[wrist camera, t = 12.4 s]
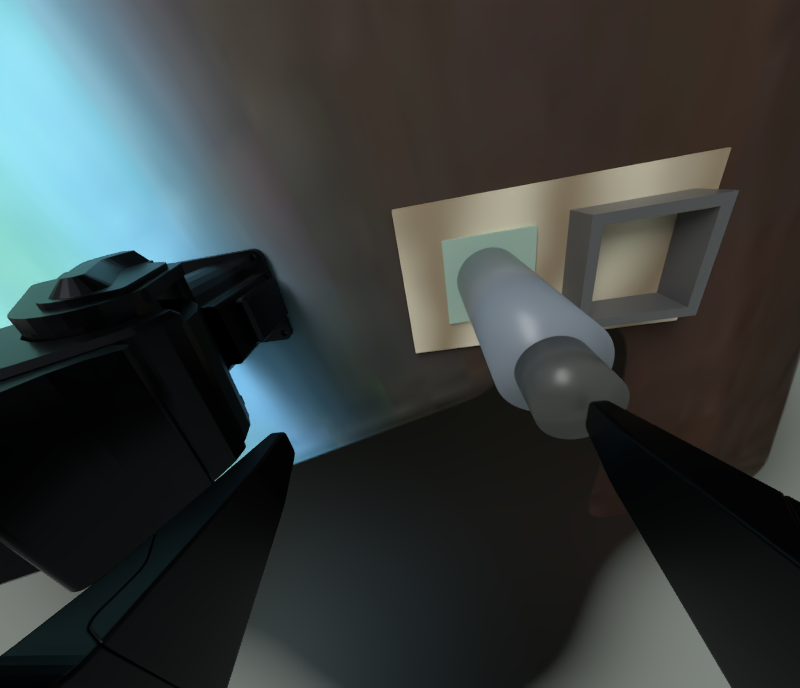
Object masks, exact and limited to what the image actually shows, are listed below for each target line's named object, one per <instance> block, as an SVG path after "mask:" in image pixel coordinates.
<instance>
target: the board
mask: <svg viewBox="0 0 800 688" xmlns="http://www.w3.org/2000/svg"><path fill="white" fill-rule="evenodd" d="M730 150H731V147H730V148H722V149H716V150H711V151H706V152H700V153H695V154H689V155H684V156H679V157H673V158H668V159H662V160H657V161H652V162H646V163H641V164H636V165H630V166H625V167H619V168H614V169H609V170H603V171H598V172H592V173H587V174H582V175H576V176H571V177H566V178H560V179H555V180H549V181H544V182H539V183H533V184H528V185H522V186H517V187H512V188H506V189H501V190H495V191H490V192H485V193H479V194H474V195H469V196H463V197H458V198H452V199H447V200H442V201H436V202H431V203H425V204H420V205H415V206H409V207H404V208H398V209H393V210H392V216H393V222H394V227H395V233H396V239H397V245H398V251H399V257H400V263H401V269H402V274H403V280H404V286H405V292H406V298H407V304H408V310H409V316H410V321H411V327H412V333H413V339H414V345H415V351H416V353H422V352H430V351H438V350H446V349H454V348H461V347H469V346H477V345H480V344H479V342H478V339H477V336H476V334H475V331H474V329H473V326H472V324H471V321H469V322H461V323H454V324H450V323H449V314H448V304H447V294H446V284H445V274H444V264H443V254H442V244H441V241H444V240H449V239H455V238H461V237H467V236H473V235H479V234H485V233H491V232H497V231H502V230H508V229H514V228H520V227H526V226H532V225H537V243H536V262H535V273H536V274H537V275H539V276H540V277H541V278H542V279H544V280H545V281H546V282H547V283H548V284H550V285H551V286H552V287H553V288H555V289H556V290H557V291H558V292H560V293H561V294H562V286H563V276H564V266H565V256H566V246H567V236H568V226H569V216H570V210H573V209H579V208H584V207H590V206H596V205H602V204H607V203H613V202H619V201H625V200H631V199H636V198H642V197H648V196H654V195H659V194H665V193H671V192H677V191H683V190H688V189H694V188H702V189H718V188H719V185H720V182H721V179H722V175H723V172H724V169H725V166H726V163H727V160H728V156H729V153H730ZM677 214H678V213H676V214H670V215H664V216H658V217H652V218H646V219H640V220H634V221H628V222H622V223H615V224H609V225H604V227H603V233H602V240H601V246H600V253H599V259H598V266H597V272H596V279H595V285H594V291H593V298H592V301H597V300H605V299H612V298H619V297H626V296H634V295H641V294H648V293H655V292H657V290H658V286H659V282H660V278H661V274H662V271H663V267H664V263H665V259H666V256H667V252H668V248H669V244H670V240H671V237H672V233H673V229H674V225H675V222H676V218H677ZM677 318H678V317H677ZM677 318H669V319H661V320H653V321H645V322H638V323H630V324H622V325H614V326H606V327H603V328H604V329H611V328H619V327H627V326H634V325H642V324H650V323H658V322H666V321H674V320H677Z"/></svg>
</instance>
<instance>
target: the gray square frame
mask: <svg viewBox="0 0 800 688" xmlns="http://www.w3.org/2000/svg"><path fill="white" fill-rule="evenodd" d="M738 192H739V190H724V189H702V188H694V189H688V190H683V191H677V192H671V193H665V194H659V195H654V196H648V197H642V198H636V199H631V200H625V201H619V202H613V203H607V204H602V205H596V206H590V207H584V208H579V209H573V210H570V216H569V226H568V236H567V246H566V256H565V266H564V276H563V286H562V295H563V296H565V297H566V298H567V299H568V300H569V301H571V302H572V303H573V304H574V305H576V306H577V307H578V308H579V309H581V310H582V311H583V312H584V313H585V314H587V315H588V316H589V317H590V318H592V319H593V320H594V321H595V322H597V323H598V324H599V325H600V326H602V327H606V326H614V325H622V324H630V323H638V322H645V321H653V320H661V319H669V318H677V317H685V316H692V315H696V313H697V310H698V307H699V305H700V302H701V299H702V296H703V293H704V290H705V287H706V284H707V281H708V279H709V276H710V273H711V270H712V267H713V264H714V261H715V258H716V255H717V253H718V250H719V247H720V244H721V241H722V238H723V235H724V232H725V229H726V227H727V224H728V221H729V218H730V215H731V212H732V209H733V206H734V203H735V201H736V198H737V195H738ZM676 213H678V214H677V218H676V222H675V225H674V229H673V233H672V237H671V240H670V244H669V248H668V252H667V256H666V259H665V263H664V267H663V271H662V274H661V278H660V282H659V286H658V290H657V292H655V293H648V294H641V295H634V296H626V297H619V298H612V299H605V300H597V301H592V298H593V291H594V285H595V279H596V272H597V266H598V259H599V253H600V246H601V240H602V233H603V227H604V225H609V224H615V223H622V222H628V221H634V220H640V219H646V218H652V217H658V216H664V215H670V214H676Z"/></svg>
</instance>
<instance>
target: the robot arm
mask: <svg viewBox="0 0 800 688" xmlns="http://www.w3.org/2000/svg"><path fill="white" fill-rule="evenodd" d="M252 254H254V255H256V256H257V260H255V259H253V257H252ZM287 314H288V311H287V309H286V306H285V304H284V301H283V298H282V296H281V293H280V291H279V288H278V285H277V283H276V281H275V280H274V279H273V278H272V276H271V273H270V271H269V268H268V266H267V263H266V261H265V258H264V256H263V254H262V252H261V251H260V250H258V249H249V250H243V251H238V252H232V253H226V254H221V255H215V256H210V257H204V258H199V259H193V260H188V261H182V262H177V263H169V264H166V262H155V263H154V262H153V261H152V260H151V261H149V260H148V259H146V258H145V257H143V256H142V255H140V254H138V253H137V252H135V251H134V250H133V251H123V252H118V253H114V254H110V255H107V256H103V257H99V258H96V259H92V260H89V261H86V262H83V263H81V264H79V265H78V266H76V267H75V268H73V269H72V270H70V271H69V272H66V273H63V274H62V275H61V276H59V277H58V278H57V279H54V280H50V281H46V282H42V283H38V284H35V285H32V286H31V287H30V288H29V289H28V290H27V291H26V293H25V294H24V295H23V296H22V298H21V299H20V300H19V301H18V302H17V304H16V305H15V306H14V307H13V308H12V310H11V311H10V312H9V313H8V315H7V318H8V319H9V320H10V321H11V322H12V324H13V325H11V326H8V327H4V328H1V329H0V585H2V584H5V583H8V582H11V581H14V580H17V579H20V578H23V577H26V576H29V575H32V574H35V573H38V572H41V571H42V572H43V573H45V574H46V575H48V576H49V577H50V578H52V579H53V580H55V581H56V582H57V583H59V584H60V585H62V586H63V587H64V588H66V589H67V590H69V591H70V592H77V591H81V590H83V589H85V588H87V587H89V586H90V585H91V586H90V587H89V588H88V589H86V590H85V591H84V592H82V593H81V594H80V595H79V596H77V597H76V598H75V599H74V600H72V601H71V602H70V603H68V604H67V605H66V606H64V607H63V608H62V609H61V610H59V611H58V612H57V613H55V614H54V615H53V616H52V617H50V618H49V619H48V620H47V621H45V622H44V623H43V624H41V625H40V626H39V627H38V628H36V629H35V630H34V631H32V632H31V633H30V634H29V635H27V636H26V637H25V638H23V639H22V640H21V641H20V642H18V643H17V644H16V645H15V646H13V647H12V648H10V649H9V650H8V651H6V652H5V653H4V654H2V655H1V656H0V688H227V687H228V684H229V681H230V677H231V674H232V671H233V667H234V665H235V662H236V658H237V655H238V652H239V649H240V646H241V642H242V639H243V636H244V633H245V630H246V626H247V623H248V620H249V617H250V614H251V611H252V607H253V604H254V601H255V598H256V595H257V591H258V588H259V585H260V582H261V579H262V576H263V572H264V569H265V566H266V563H267V560H268V556H269V553H270V550H271V547H272V544H273V541H274V537H275V534H276V531H277V528H278V525H279V521H280V518H281V515H282V512H283V508H284V504H285V500H286V496H287V491H288V486H289V481H290V477H291V472H292V467H293V462H294V457H295V452H294V449H293V447H292V445H291V443H290V441H289V439H288V437H287V435H286V434H285V433H284V432H279V433H272V434H270V435H269V436H267V437H266V438H265V439H264V440H263V441H262V442H260V443H259V444H258V445H257V446H256V447H255V448H253V449H252V450H251V451H250V452H249V453H248V454H246V455H245V456H244V457H243V458H242V459H241V460H239V461H238V462H237V463H236V464H235V465H234V466H232V467H231V468H230V469H229V470H228V471H227V472H225V471H226V470H227V469H228V468H229V467H230V466H231V465H232V464H233V463H234V462H235V461H236V460H237V459H238V457H239V456H240V455H241V453H242V452H243V451H244V450H245V448H246V444H245V442H244V441H245V439H246V436H247V433H248V430H249V427H250V420H249V414H248V412H247V410H246V407H245V403H244V400H243V398H242V396H241V395H240V394H239V392H238V390H237V388H236V386H235V384H234V381H233V379H232V377H231V375H230V373H229V371H230V370H231V369H232V368H233V367H234V366H235V365H236V364H241V363H242V362H243V361H244V360H245V359H246V358H247V357H248V356H249V355H250V354H251V352H252V351H253V350H254V349H255V348H256V347H257V346H258V345H259V344H260V343H262V342H269V341H277V340H284V339H288V338H290V337H291V335H292V334H293V330H292V327H291V325H290V322H289V319H288V317H287ZM283 330H285V331H287V333H288V334H286V333H284V332H283ZM586 429H587V432H588V434H589V437H590V439H591V441H592V443H593V445H594V448H595V450H596V452H597V454H598V456H599V458H600V461H601V463H602V465H603V467H604V469H605V472H606V474H607V476H608V478H609V480H610V482H611V484H612V486H613V488H614V489H615V491H616V493H617V495H618V496H619V498H620V500H621V501H622V503H623V505H624V507H625V508H626V510H627V512H628V513H629V515H630V517H631V518H632V520H633V522H634V523H635V525H636V527H637V528H638V530H639V532H640V534H641V535H642V537H643V539H644V540H645V542H646V544H647V545H648V547H649V549H650V550H651V552H652V554H653V556H654V557H655V559H656V561H657V562H658V564H659V566H660V567H661V569H662V571H663V573H664V574H665V576H666V578H667V579H668V581H669V583H670V584H671V586H672V588H673V589H674V591H675V593H676V595H677V596H678V598H679V600H680V601H681V603H682V605H683V607H684V608H685V610H686V611H687V613H688V615H689V617H690V618H691V620H692V622H693V623H694V625H695V627H696V629H697V630H698V632H699V634H700V635H701V637H702V639H703V640H704V642H705V644H706V645H707V647H708V649H709V650H710V652H711V654H712V655H713V657H714V659H715V661H716V662H717V664H718V666H719V668H720V669H721V671H722V673H723V674H724V676H725V678H726V679H727V681H728V683H729V684H730V686H731V688H800V502H799V501H797V500H795V499H793V498H791V497H789V496H784V495H783V493H781V492H780V491H778V490H776V489H774V488H772V487H770V486H768V485H767V484H764V483H763V482H761V481H759V480H757V479H755V478H753V477H751V476H750V475H748V474H746V473H744V472H742V471H740V470H738V469H736V468H734V467H733V466H731V465H729V464H727V463H725V462H723V461H721V460H719V459H718V458H716V457H714V456H712V455H710V454H708V453H706V452H704V451H702V450H701V449H699V448H697V447H695V446H693V445H691V444H689V443H687V442H685V441H684V440H682V439H680V438H678V437H676V436H674V435H672V434H670V433H669V432H667V431H665V430H663V429H661V428H659V427H657V426H655V425H653V424H652V423H650V422H648V421H646V420H644V419H642V418H640V417H638V416H636V415H635V414H633V413H631V412H629V411H627V410H625V409H623V408H621V407H620V406H618V405H616V404H614V403H612V402H610V401H607V400H601V401H592V402H591V403H590V404H589V407H588V413H587V418H586ZM224 472H225V473H224ZM223 473H224V474H223ZM222 474H223V475H222ZM221 475H222V476H221ZM220 476H221V477H220ZM218 477H220V478H218ZM217 478H218V479H217ZM216 479H217V480H216ZM215 480H216V481H215ZM92 584H93V585H92Z"/></svg>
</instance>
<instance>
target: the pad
mask: <svg viewBox="0 0 800 688" xmlns="http://www.w3.org/2000/svg"><path fill="white" fill-rule="evenodd" d="M536 243H537V225H532V226H526V227H520V228H514V229H508V230H502V231H497V232H491V233H485V234H479V235H473V236H467V237H461V238H455V239H449V240H444V241H441V244H442V254H443V264H444V274H445V284H446V294H447V304H448V314H449V323H450V324H454V323H461V322H469V321H470V319H469V316H468V313H467V311H466V308H465V306H464V303H463V301H462V298H461V296H460V293H459V290H458V286H457V278H458V273H459V270H460V268H461V266H462V264H463V263H464V262H465V261H466V259H467V258H468V257H470V256H471V255H472V254H473V253H475V252H477V251H479V250H481V249H485V248H490V247H497V248H502V249H505V250H507V251H509V252H510V253H511V254H513V255H514V256H515V257H516V258H518V259H519V260H520V261H521V262H523V263H524V264H525V265H526V266H528V267H529V268H530V269H531V270H532V271H534V272H535V262H536Z"/></svg>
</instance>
